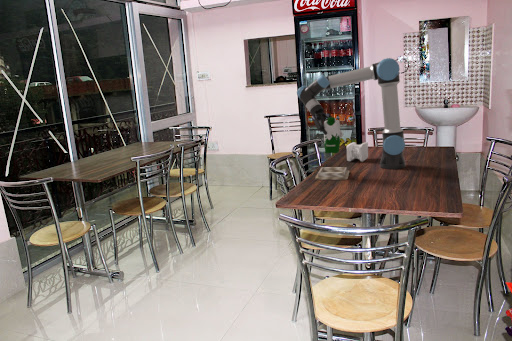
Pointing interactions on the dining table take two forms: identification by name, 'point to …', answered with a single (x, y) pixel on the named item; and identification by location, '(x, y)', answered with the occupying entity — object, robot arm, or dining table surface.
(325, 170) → the tray
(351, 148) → the cable organizer
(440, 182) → the dining table surface
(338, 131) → the milk carton
